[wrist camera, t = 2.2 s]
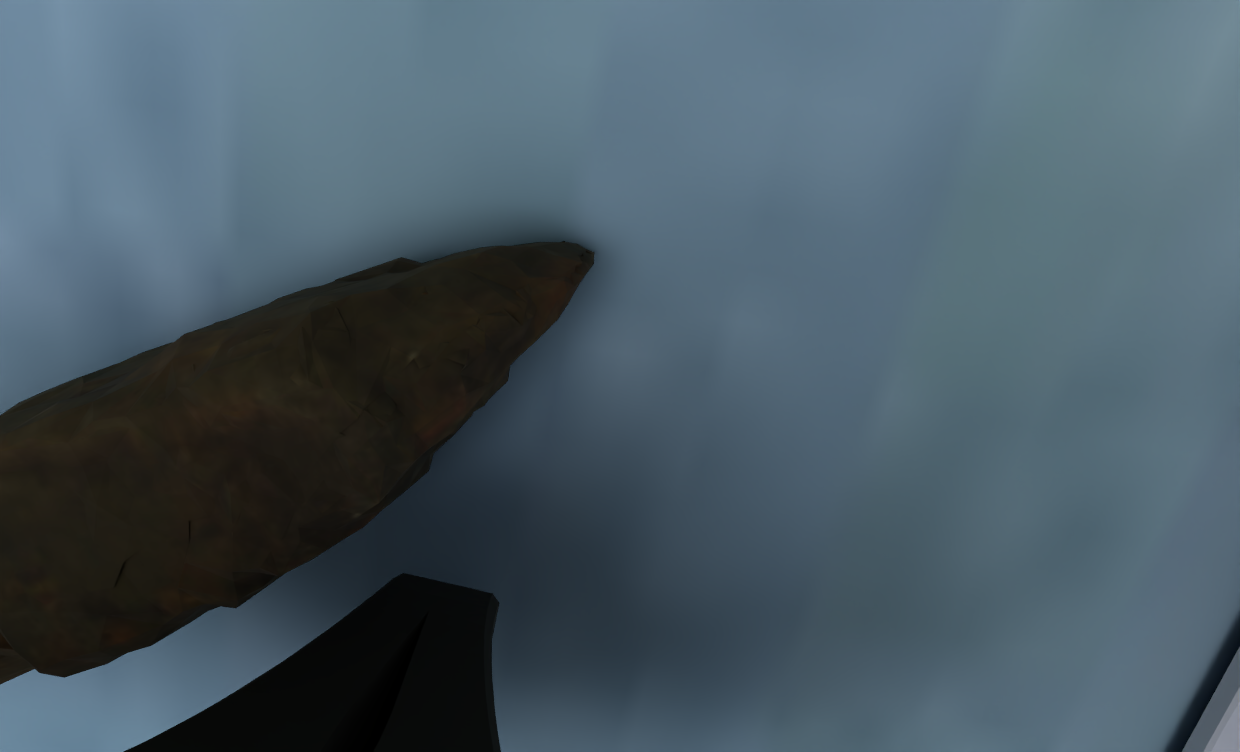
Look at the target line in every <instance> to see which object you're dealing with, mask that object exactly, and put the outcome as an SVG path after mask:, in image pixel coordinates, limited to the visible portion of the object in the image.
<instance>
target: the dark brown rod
mask: <svg viewBox="0 0 1240 752" xmlns="http://www.w3.org/2000/svg"><path fill="white" fill-rule="evenodd" d="M593 264H594V252H592V251H590V250H587V249H585V248H583V247H582V246H580V245H578V244H574V243H569V242H565V241H563V242H536V243H528V244H521V245H514V246H491V247H481V248H477V249H472V250H467V251H463V252H458V253H454V254H451V255H449V256H446V257H443V258H441V259H435V260H432V261H428V262H425V263H420V262H416V261H412V260H409V259H405V258H402V257H401V258H398V259H395V260H392V261H389V262H386V263H383V264H381V265H378V266H375V267H372V268H369V269H366V270H363V271H360V272H357V273H354V274H351V275H348V276H345V277H342V278H339V279H336V280H335V281H333V282H331V283H328V284H325V285H323V286H318V287H313V288H307V289H304V290H301V291H298V292H295V293H292V294H289V295H286V296H283V297H281V298H278V299H276V300H274V301H273V302H271V303H269V304H267V305H265V306H262V307H259V308H257V309H254V310H251V311H249V312H246V313H243V314H241V315H238V316H236V317H233V318H230V319H228V320H225V321H220V322H216V323H214V324H212V325H210V326H207V327H204V328H202V329H198V330H195V331H192V332H189V333H186V334H184V335H183V336H181V337H180V338H179V339H178V340H176V341H175V342H172V343H169V344H166V345H163V346H160V347H157V348H154V349H151V350H148V351H145V352H142V353H140V354H138V355H136V356H134V357H131V358H129V359H127V360H125V361H123V362H121V363H118V364H115V365H112V366H110V367H107V368H104V369H101V370H99V371H96V372H93V373H90V374H88V375H85V376H82V377H79V378H76V379H74V380H71V381H69V382H66V383H64V384H61V385H59V386H56V387H54V388H52V389H49V390H47V391H44V392H42V393H39V394H37V395H35V396H33V397H31V398H28V399H26V400H24V401H22V402H19V403H18V404H16V405H15V406H13V407H12V408H10V409H9V410H8V411H6V412H5V413H3V414H2V415H0V684H2V683H4V682H6V681H9V680H11V679H13V678H15V677H17V676H20V675H22V674H24V673H26V672H28V671H31V670H33V669H36V670H37V671H38V672H39V673H43V674H48V675H54V676H59V677H67V676H70V675H73V674H76V673H80V672H83V671H86V670H89V669H92V668H95V667H98V666H101V665H105V664H108V663H109V662H111V661H113V660H115V659H117V658H118V657H120V656H122V655H124V654H126V653H128V652H131V651H135V650H138V649H142V648H145V647H148V646H151V645H153V644H155V643H156V642H158V641H160V640H161V639H163V638H165V637H166V636H168V635H170V634H171V633H173V632H175V631H177V630H178V629H180V628H182V627H183V626H185V625H187V624H188V623H190V622H192V621H193V620H195V619H196V618H198V617H199V616H201V615H202V614H204V613H205V612H207V611H209V610H211V609H214V608H217V607H220V606H223V607H230V608H237V607H239V606H240V605H241V604H243V603H244V602H246V601H247V600H248V599H250V598H251V597H253V596H254V595H256V594H257V593H258V592H260V591H261V590H263V589H264V588H265V587H267V586H268V585H270V584H271V583H272V582H274V581H275V580H277V579H278V578H279V577H281V576H282V575H283V574H285V573H287V572H289V571H291V570H293V569H295V568H296V567H298V566H300V565H302V564H304V563H306V562H308V561H310V560H312V559H314V558H315V557H317V556H318V555H320V554H321V553H323V552H324V551H326V550H328V549H329V548H331V547H332V546H334V545H335V544H337V543H338V542H340V541H341V540H343V539H345V538H346V537H348V536H350V535H351V534H353V533H355V532H356V531H358V530H360V529H361V528H363V527H364V526H365V525H366V524H367V523H369V522H370V521H371V520H372V519H373V518H374V517H375V516H376V515H377V514H378V513H379V512H380V511H382V510H383V509H384V508H385V507H386V506H388V505H389V504H390V503H391V502H393V501H394V500H395V499H396V498H397V497H399V496H400V495H401V494H402V493H404V492H405V491H406V490H407V489H408V488H410V487H411V486H412V485H413V484H414V483H415V482H417V481H418V480H419V479H420V478H421V477H422V476H423V475H425V474H426V473H427V472H428V471H429V468H430V465H431V461H432V458H433V454H434V453H435V452H436V451H437V450H438V449H439V448H440V447H441V446H442V445H444V444H445V443H446V442H447V441H448V440H449V439H450V438H451V437H452V436H453V435H454V434H455V433H456V432H457V431H458V430H459V429H460V428H461V427H462V426H463V425H464V423H465V422H466V421H467V420H468V419H469V418H470V417H471V416H472V414H473V412H474V411H476V410H477V409H479V408H481V407H483V406H484V405H485V404H486V402H487V401H488V400H489V399H490V398H491V397H492V396H493V395H494V394H495V393H496V392H497V391H498V390H499V389H500V388H501V387H502V386H503V385H504V384H505V383H506V382H507V381H508V377H509V369H510V365H511V364H512V363H513V362H514V361H515V360H516V359H517V358H518V357H519V356H520V355H521V354H522V353H523V352H524V351H526V350H527V349H528V348H529V347H530V346H531V345H532V344H533V343H534V342H535V341H536V340H537V339H538V338H539V337H540V336H541V335H542V334H543V333H544V332H545V331H547V330H548V329H549V328H550V327H551V326H552V325H553V324H554V323H555V322H556V321H557V320H558V318H559V317H560V315H561V314H562V312H563V311H564V309H565V308H566V306H567V305H568V303H569V301H570V299H571V298H572V296H573V294H574V292H575V291H576V289H577V287H578V285H579V283H580V282H581V280H582V279H583V278H584V276H585V275H586V273H587V272H588V271H589V269H590V268H591V267H592V265H593Z"/></svg>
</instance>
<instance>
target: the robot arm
mask: <svg viewBox="0 0 1240 752" xmlns="http://www.w3.org/2000/svg"><path fill="white" fill-rule="evenodd" d="M498 607H499V602H498V600H497V599H496V597H495V596H494V594H493V593H488V592H484V591H480V590H475V589H471V588H467V587H462V586H458V585H453V584H449V583H445V582H440V581H436V580H432V579H427V578H423V577H419V576H414V575H410V574H406V573H402V574H400V575H399V576H397V577H395V578H393V579H392V580H391V581H390V582H389V583H387V584H386V585H385V586H384V587H382V588H381V589H380V590H379V591H377V592H376V593H375V594H374V595H372V596H371V597H370V598H369V599H367V600H366V601H365V602H364V603H362V604H361V605H360V606H358V607H357V608H356V609H355V610H353V611H352V612H351V613H349V614H348V615H347V616H345V617H344V618H343V619H342V620H340V621H339V622H338V623H336V624H335V625H334V626H332V627H331V628H329V629H328V630H327V631H325V632H324V633H322V634H321V635H320V636H318V637H317V638H315V639H314V640H313V641H311V642H310V643H308V644H307V645H306V646H304V647H303V648H301V649H300V650H299V651H297V652H296V653H294V654H293V655H292V656H290V657H289V658H287V659H286V660H284V661H283V662H281V663H280V664H278V665H276V666H275V667H273V668H272V669H270V670H269V671H267V672H265V673H264V674H262V675H261V676H259V677H258V678H256V679H254V680H253V681H251V682H250V683H248V684H247V685H245V686H244V687H242V688H240V689H239V690H237V691H236V692H234V693H232V694H231V695H229V696H227V697H226V698H224V699H222V700H221V701H219V702H217V703H216V704H214V705H212V706H210V707H209V708H207V709H205V710H203V711H202V712H200V713H198V714H196V715H195V716H193V717H191V718H189V719H187V720H185V721H184V722H182V723H180V724H178V725H176V726H174V727H172V728H170V729H168V730H167V731H165V732H163V733H161V734H159V735H157V736H155V737H153V738H151V739H149V740H147V741H145V742H143V743H141V744H139V745H137V746H135V747H133V748H131V749H128V750H126V751H124V752H501V750H500V743H499V737H498V731H497V723H496V716H495V706H494V694H493V682H492V636H493V632H494V627H495V622H496V617H497V612H498ZM1182 752H1240V647H1239V649H1238V651H1237V653H1236V654H1235V656H1234V658H1233V660H1232V662H1231V663H1230V665H1229V667H1228V669H1227V671H1226V672H1225V674H1224V676H1223V678H1222V680H1221V682H1220V683H1219V685H1218V687H1217V689H1216V691H1215V692H1214V694H1213V696H1212V698H1211V700H1210V702H1209V703H1208V705H1207V707H1206V709H1205V711H1204V712H1203V714H1202V716H1201V718H1200V720H1199V721H1198V723H1197V725H1196V727H1195V729H1194V731H1193V732H1192V734H1191V736H1190V738H1189V740H1188V741H1187V743H1186V745H1185V747H1184V749H1183V751H1182Z"/></svg>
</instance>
